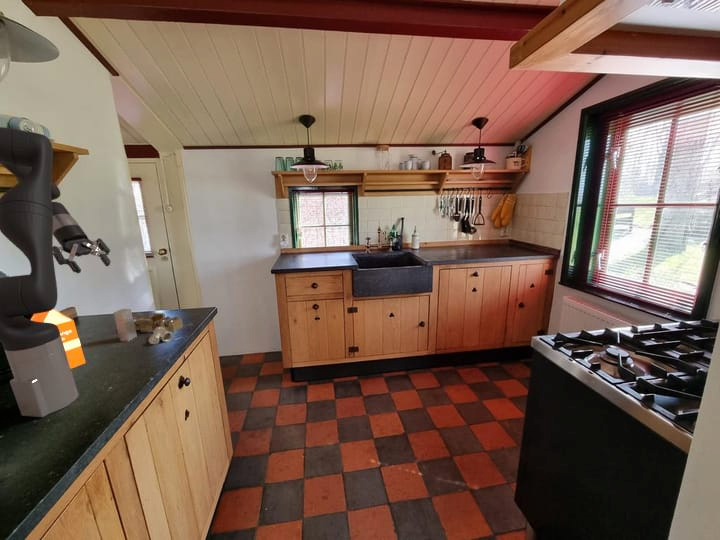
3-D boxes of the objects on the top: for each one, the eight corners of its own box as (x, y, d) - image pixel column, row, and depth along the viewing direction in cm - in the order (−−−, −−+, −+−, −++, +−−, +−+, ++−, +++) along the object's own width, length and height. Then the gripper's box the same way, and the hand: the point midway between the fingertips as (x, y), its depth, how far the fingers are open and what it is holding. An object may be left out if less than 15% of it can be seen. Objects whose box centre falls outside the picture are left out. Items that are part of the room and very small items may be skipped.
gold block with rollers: (172, 333, 113) (169, 321, 112) (122, 331, 116) (119, 319, 115) (184, 325, 120) (182, 313, 119) (137, 323, 123) (135, 312, 121)
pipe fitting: (153, 348, 103) (174, 339, 108) (150, 338, 102) (171, 330, 107) (144, 342, 108) (165, 334, 113) (141, 332, 107) (162, 324, 112)
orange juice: (74, 356, 98) (57, 298, 93) (86, 362, 94) (69, 303, 89) (41, 368, 92) (21, 307, 87) (52, 375, 87) (32, 312, 83)
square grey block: (128, 341, 108) (122, 312, 105) (120, 341, 108) (113, 312, 105) (137, 336, 111) (130, 309, 108) (128, 336, 111) (122, 308, 109)
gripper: (41, 227, 95) (71, 268, 95) (93, 220, 107) (120, 257, 107) (37, 240, 99) (66, 280, 99) (88, 232, 111) (114, 268, 111)
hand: (94, 268), depth 103 cm, fingers open, 8 cm apart
